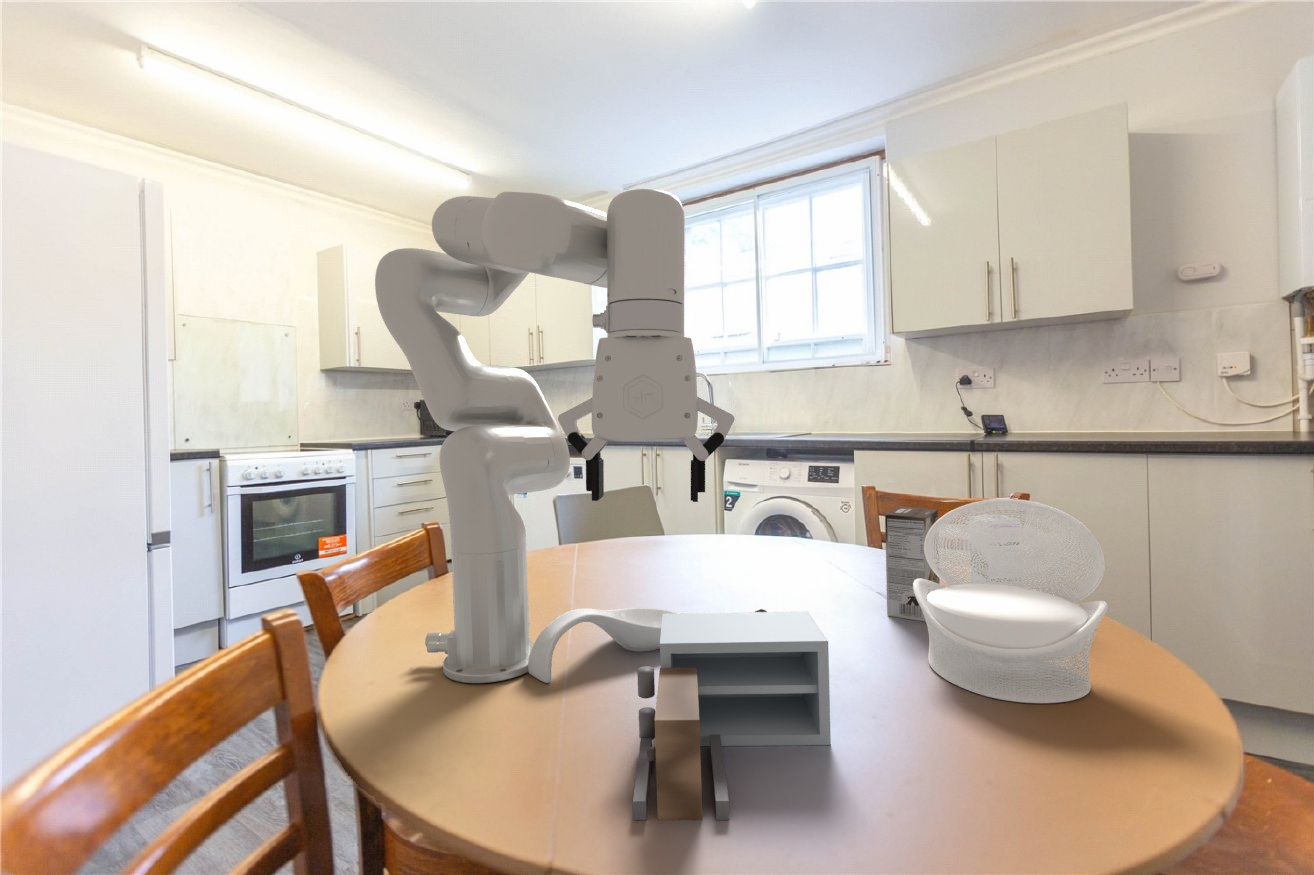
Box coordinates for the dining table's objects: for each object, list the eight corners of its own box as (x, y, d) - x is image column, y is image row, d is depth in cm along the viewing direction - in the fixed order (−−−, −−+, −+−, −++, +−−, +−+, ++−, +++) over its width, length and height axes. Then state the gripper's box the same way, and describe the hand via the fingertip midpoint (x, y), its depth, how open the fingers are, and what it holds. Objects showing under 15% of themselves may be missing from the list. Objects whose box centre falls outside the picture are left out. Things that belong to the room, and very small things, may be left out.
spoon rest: (649, 624, 94) (648, 579, 94) (704, 643, 85) (702, 593, 85) (513, 669, 78) (511, 614, 78) (563, 697, 69) (561, 636, 69)
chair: (896, 682, 70) (892, 512, 70) (935, 632, 86) (932, 493, 85) (1109, 730, 58) (1106, 525, 58) (1109, 662, 74) (1106, 501, 73)
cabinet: (630, 820, 47) (626, 694, 47) (645, 703, 67) (642, 614, 66) (865, 819, 46) (862, 691, 46) (810, 701, 66) (808, 611, 66)
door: (648, 820, 47) (644, 720, 47) (654, 751, 57) (651, 668, 57) (702, 820, 47) (699, 719, 47) (699, 751, 57) (696, 667, 56)
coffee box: (900, 601, 101) (898, 506, 101) (941, 607, 97) (939, 508, 97) (885, 616, 94) (883, 513, 93) (929, 623, 90) (927, 516, 89)
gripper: (549, 320, 55) (550, 504, 56) (737, 319, 54) (736, 506, 55) (566, 331, 63) (567, 493, 63) (732, 329, 62) (731, 495, 62)
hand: (645, 499), depth 59 cm, fingers open, 9 cm apart
